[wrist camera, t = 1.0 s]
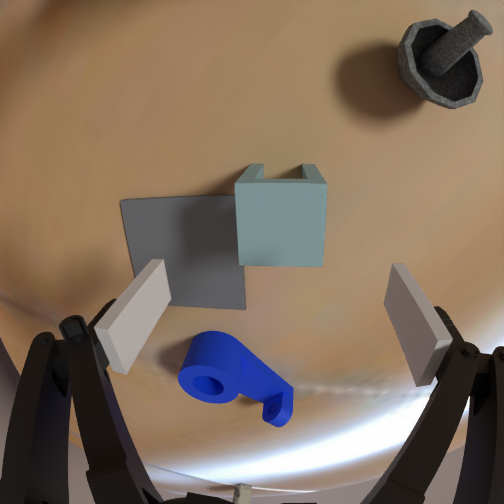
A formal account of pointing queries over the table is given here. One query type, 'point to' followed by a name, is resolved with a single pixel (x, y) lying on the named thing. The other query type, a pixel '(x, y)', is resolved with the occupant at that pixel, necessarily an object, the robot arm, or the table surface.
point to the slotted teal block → (281, 218)
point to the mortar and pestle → (443, 60)
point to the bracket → (234, 376)
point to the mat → (189, 247)
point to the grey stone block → (242, 494)
